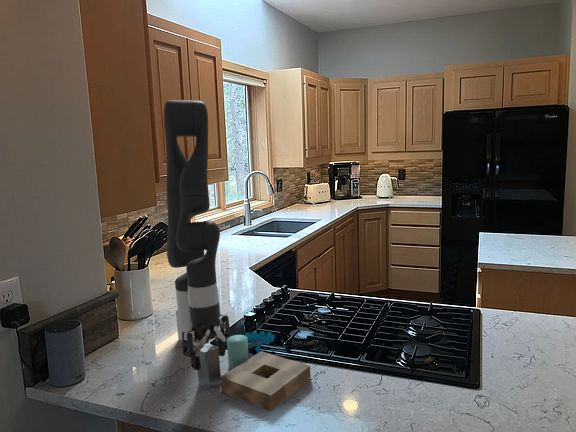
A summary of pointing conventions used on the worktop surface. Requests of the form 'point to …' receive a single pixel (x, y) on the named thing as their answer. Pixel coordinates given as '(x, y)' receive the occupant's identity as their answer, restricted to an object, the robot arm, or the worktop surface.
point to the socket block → (265, 380)
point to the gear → (259, 339)
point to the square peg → (209, 367)
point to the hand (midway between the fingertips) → (209, 362)
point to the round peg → (237, 350)
